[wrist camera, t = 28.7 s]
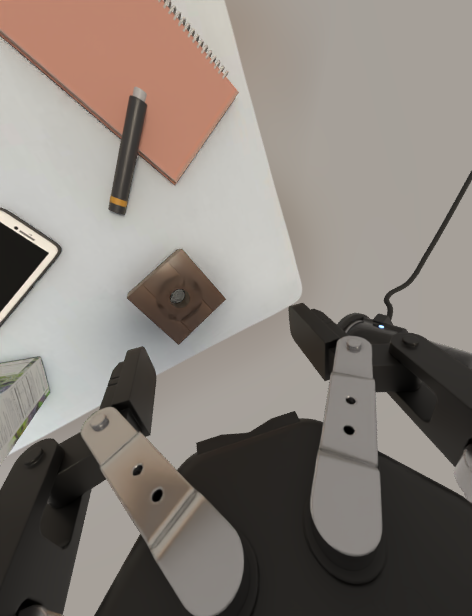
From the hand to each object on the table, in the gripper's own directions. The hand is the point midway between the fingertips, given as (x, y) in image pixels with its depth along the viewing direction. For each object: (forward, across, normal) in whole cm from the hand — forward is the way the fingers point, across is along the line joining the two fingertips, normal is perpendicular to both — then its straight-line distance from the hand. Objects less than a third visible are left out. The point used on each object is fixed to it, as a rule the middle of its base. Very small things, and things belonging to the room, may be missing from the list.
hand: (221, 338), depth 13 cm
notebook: (+32, +3, -23) cm, 40 cm away
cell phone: (+23, +25, -2) cm, 34 cm away
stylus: (+27, +1, -18) cm, 32 cm away
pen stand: (+26, +5, +7) cm, 27 cm away
